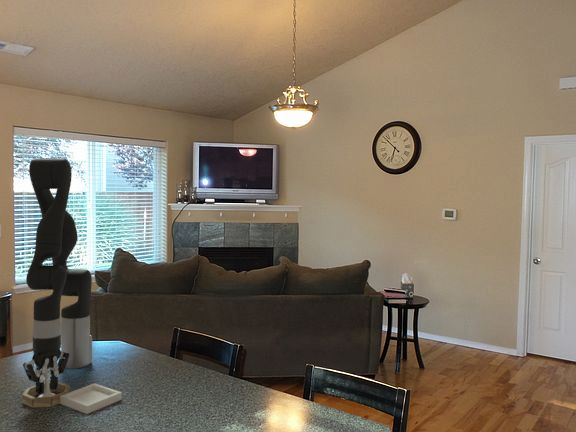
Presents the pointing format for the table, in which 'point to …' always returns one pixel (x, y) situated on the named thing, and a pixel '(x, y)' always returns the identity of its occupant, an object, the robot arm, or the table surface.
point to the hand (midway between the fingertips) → (46, 391)
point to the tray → (90, 398)
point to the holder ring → (44, 401)
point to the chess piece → (47, 385)
